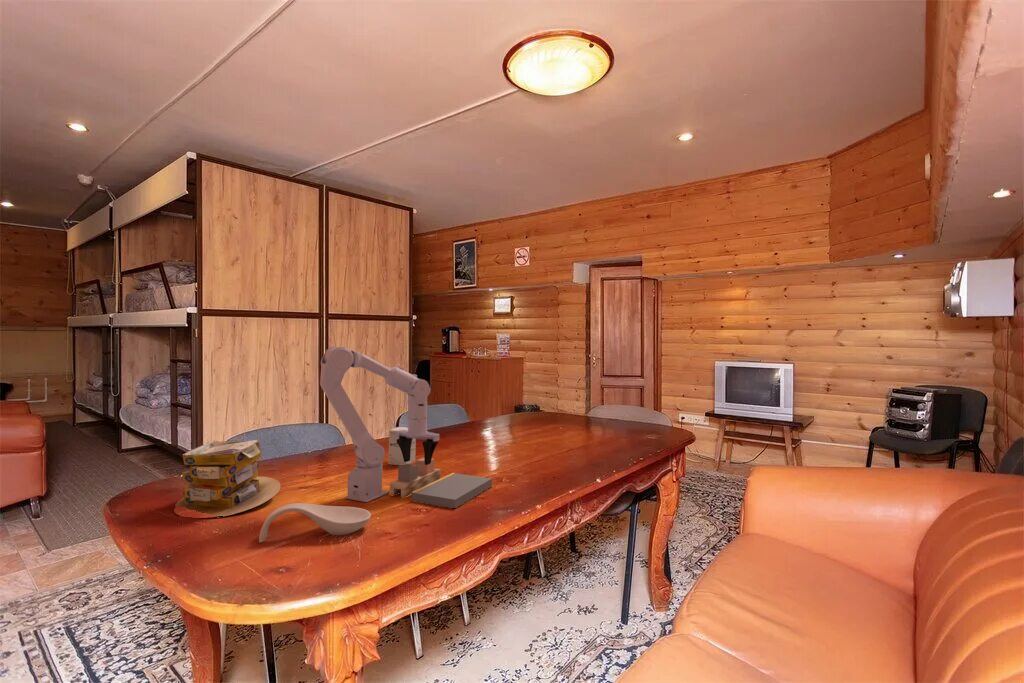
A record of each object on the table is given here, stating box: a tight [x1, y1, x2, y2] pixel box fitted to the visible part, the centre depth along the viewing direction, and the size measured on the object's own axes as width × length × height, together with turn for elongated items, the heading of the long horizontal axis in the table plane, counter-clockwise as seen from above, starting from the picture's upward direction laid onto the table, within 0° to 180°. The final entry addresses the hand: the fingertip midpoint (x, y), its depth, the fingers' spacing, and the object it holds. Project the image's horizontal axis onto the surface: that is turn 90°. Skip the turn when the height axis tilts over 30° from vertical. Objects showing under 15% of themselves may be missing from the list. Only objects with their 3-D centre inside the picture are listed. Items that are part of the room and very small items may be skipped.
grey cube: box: [397, 463, 418, 482], centre depth 141 cm, size 4×4×4 cm
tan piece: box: [389, 468, 442, 498], centre depth 145 cm, size 19×5×4 cm, turn 156°
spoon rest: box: [258, 502, 372, 543], centre depth 110 cm, size 24×12×7 cm, turn 111°
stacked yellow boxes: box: [174, 439, 281, 517], centre depth 130 cm, size 25×25×17 cm
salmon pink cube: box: [415, 457, 435, 475], centre depth 149 cm, size 4×4×4 cm
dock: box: [410, 472, 493, 509], centre depth 139 cm, size 22×14×3 cm, turn 156°
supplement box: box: [388, 426, 417, 466], centre depth 174 cm, size 7×7×13 cm
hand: (417, 462), depth 145 cm, fingers open, 7 cm apart
